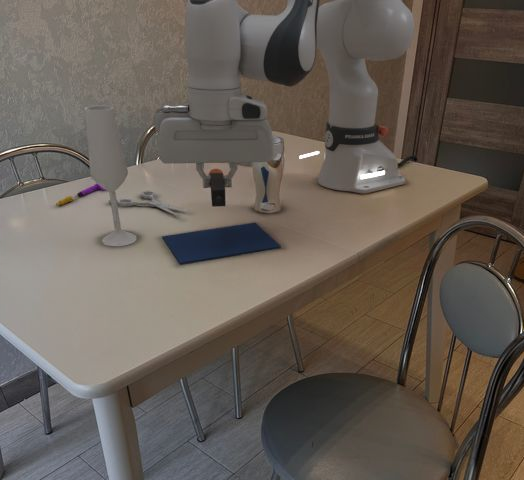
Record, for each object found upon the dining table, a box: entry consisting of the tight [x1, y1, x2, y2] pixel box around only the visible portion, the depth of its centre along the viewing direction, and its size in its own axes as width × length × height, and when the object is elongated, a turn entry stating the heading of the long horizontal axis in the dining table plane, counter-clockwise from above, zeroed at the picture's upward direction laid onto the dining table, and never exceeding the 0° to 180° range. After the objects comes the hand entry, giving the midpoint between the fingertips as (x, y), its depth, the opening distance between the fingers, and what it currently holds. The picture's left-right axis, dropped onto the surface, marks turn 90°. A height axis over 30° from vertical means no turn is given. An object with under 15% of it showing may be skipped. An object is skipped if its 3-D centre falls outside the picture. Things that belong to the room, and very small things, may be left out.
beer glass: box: [251, 135, 285, 214], centre depth 116 cm, size 7×7×15 cm
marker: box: [207, 168, 227, 208], centre depth 98 cm, size 14×3×3 cm, turn 6°
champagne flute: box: [84, 104, 137, 247], centre depth 98 cm, size 7×7×24 cm
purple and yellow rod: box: [55, 183, 106, 206], centre depth 125 cm, size 3×1×16 cm
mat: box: [161, 222, 282, 265], centre depth 104 cm, size 20×13×1 cm, turn 113°
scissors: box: [108, 190, 190, 218], centre depth 120 cm, size 11×1×20 cm
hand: (217, 186), depth 98 cm, fingers closed on marker, 2 cm apart
